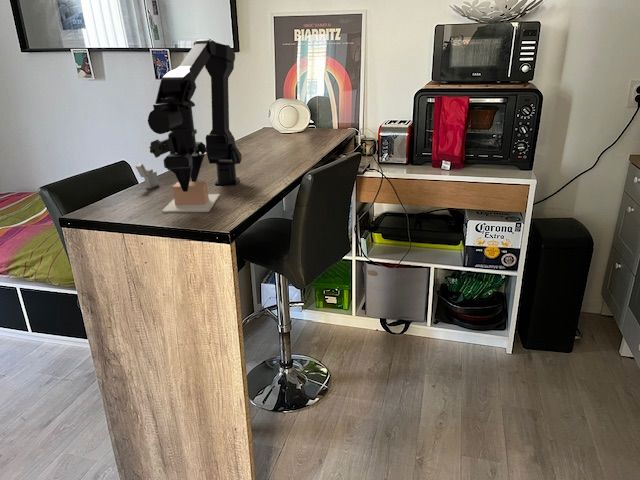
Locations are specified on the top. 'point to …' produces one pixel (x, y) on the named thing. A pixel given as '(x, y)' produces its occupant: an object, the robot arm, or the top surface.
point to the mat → (192, 206)
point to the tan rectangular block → (191, 194)
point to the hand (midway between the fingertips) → (189, 186)
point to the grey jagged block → (148, 176)
